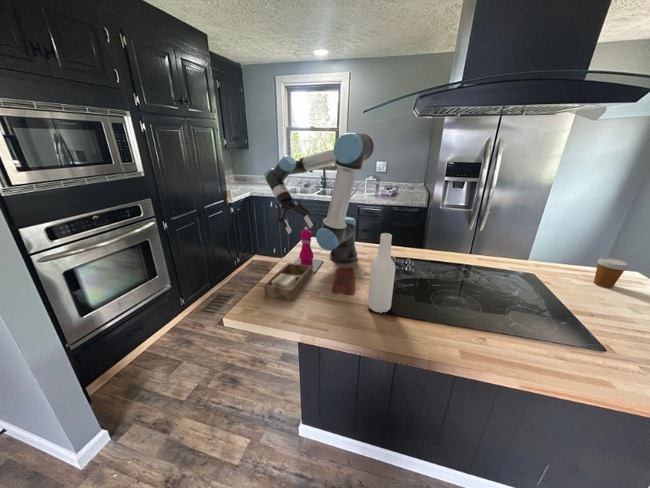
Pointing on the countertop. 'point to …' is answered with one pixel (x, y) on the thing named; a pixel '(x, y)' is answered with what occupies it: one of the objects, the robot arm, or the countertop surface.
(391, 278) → the alcohol
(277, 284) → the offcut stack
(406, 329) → the countertop surface
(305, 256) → the pepper mill
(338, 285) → the wooden tablet
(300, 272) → the tray
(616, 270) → the disposable coffee cup
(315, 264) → the slate tile
